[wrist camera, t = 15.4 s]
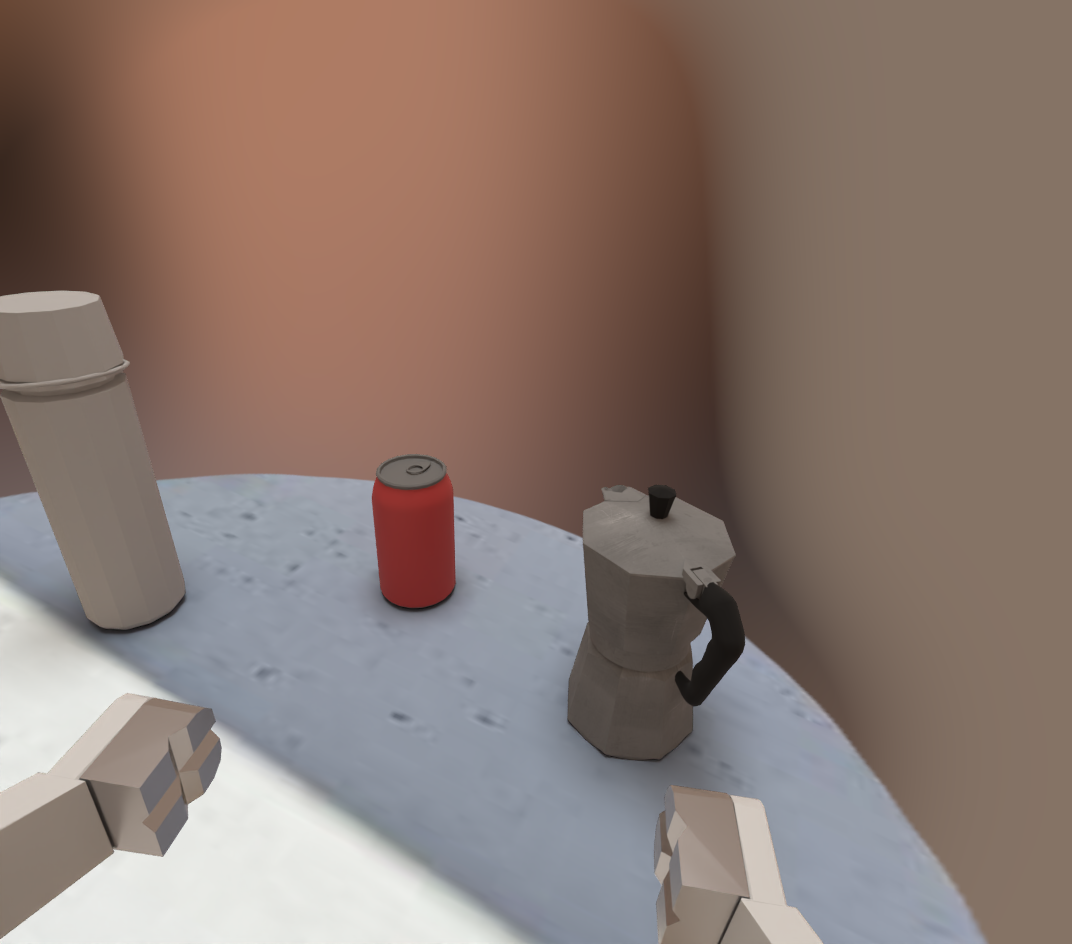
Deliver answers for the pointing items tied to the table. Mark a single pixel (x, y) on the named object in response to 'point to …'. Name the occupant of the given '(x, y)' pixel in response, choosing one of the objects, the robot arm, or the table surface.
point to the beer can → (414, 530)
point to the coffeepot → (650, 621)
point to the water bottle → (88, 455)
